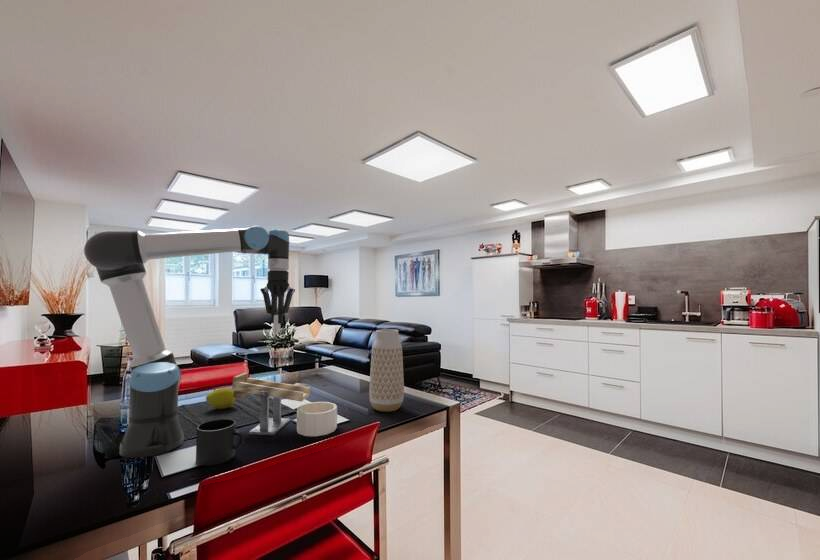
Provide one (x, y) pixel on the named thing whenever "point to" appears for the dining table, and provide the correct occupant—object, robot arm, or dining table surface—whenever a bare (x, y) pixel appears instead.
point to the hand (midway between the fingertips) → (276, 332)
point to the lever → (268, 388)
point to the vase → (386, 371)
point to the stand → (268, 424)
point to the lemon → (221, 398)
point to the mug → (216, 441)
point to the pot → (316, 418)
